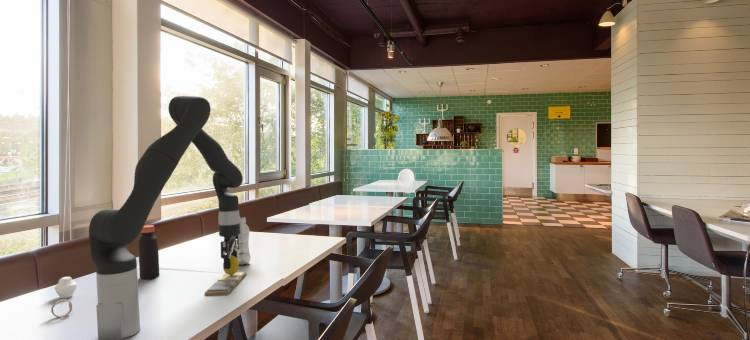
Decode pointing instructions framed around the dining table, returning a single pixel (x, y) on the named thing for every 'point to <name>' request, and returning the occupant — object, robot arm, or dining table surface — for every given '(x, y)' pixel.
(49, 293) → the dining table surface
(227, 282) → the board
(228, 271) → the lemon
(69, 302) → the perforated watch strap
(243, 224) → the plastic bottle
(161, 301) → the dining table surface
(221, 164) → the robot arm
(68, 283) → the muffin
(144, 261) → the vinegar
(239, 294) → the dining table surface
